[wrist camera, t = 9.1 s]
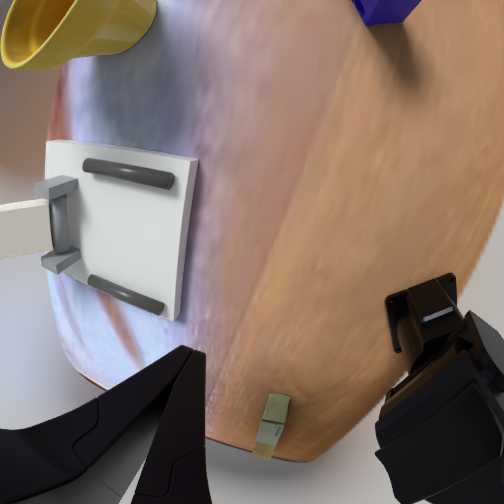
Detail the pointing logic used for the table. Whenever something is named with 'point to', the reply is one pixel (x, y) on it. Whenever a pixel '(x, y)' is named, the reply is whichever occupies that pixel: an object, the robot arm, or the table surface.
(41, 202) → the lever
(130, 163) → the white base plate
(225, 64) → the table surface
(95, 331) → the table surface
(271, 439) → the medication box
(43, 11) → the plant pot
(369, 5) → the cable clip
